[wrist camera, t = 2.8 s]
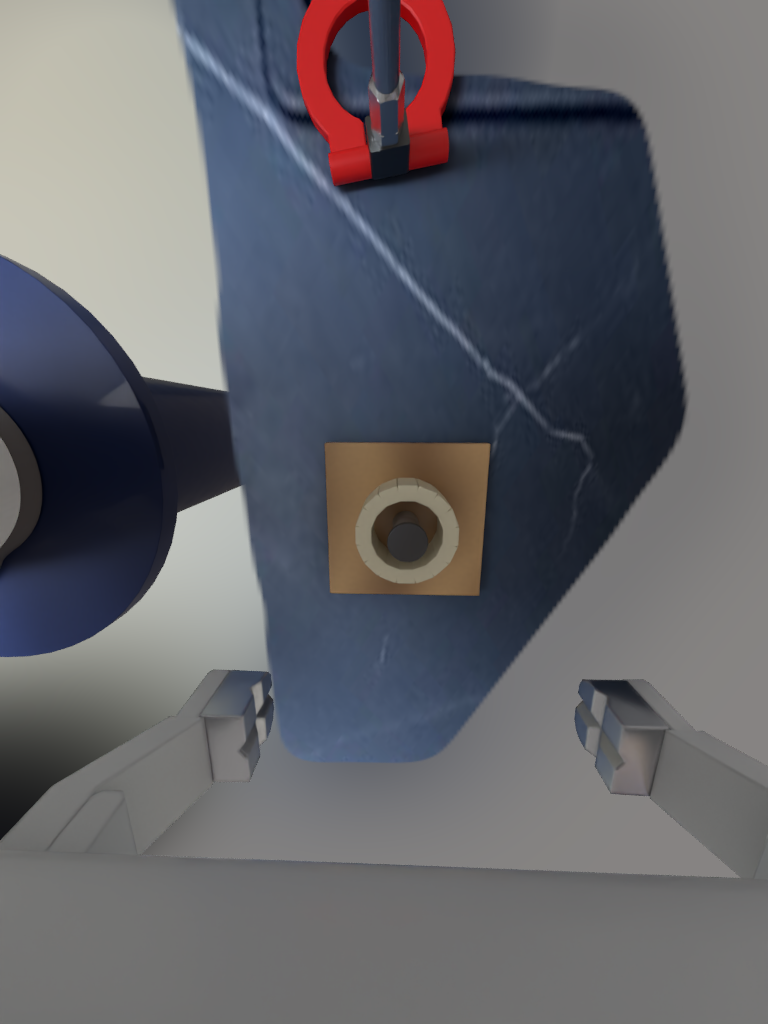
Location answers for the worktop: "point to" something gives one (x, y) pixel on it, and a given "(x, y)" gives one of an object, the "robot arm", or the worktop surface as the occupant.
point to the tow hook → (379, 88)
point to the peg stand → (405, 512)
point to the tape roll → (438, 548)
